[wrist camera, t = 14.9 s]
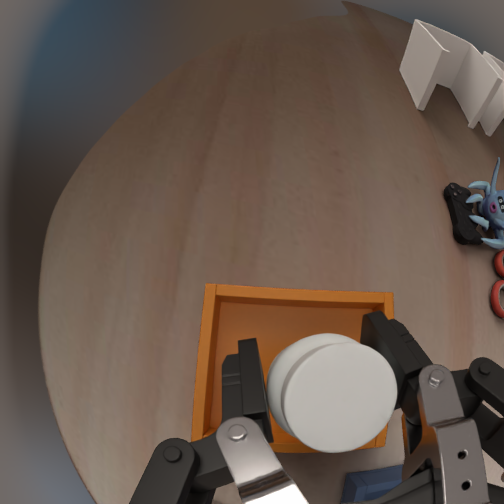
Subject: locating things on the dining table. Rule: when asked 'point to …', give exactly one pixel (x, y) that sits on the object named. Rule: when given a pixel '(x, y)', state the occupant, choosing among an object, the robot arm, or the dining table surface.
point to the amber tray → (271, 340)
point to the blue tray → (371, 484)
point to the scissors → (498, 285)
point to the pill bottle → (331, 392)
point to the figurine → (492, 207)
